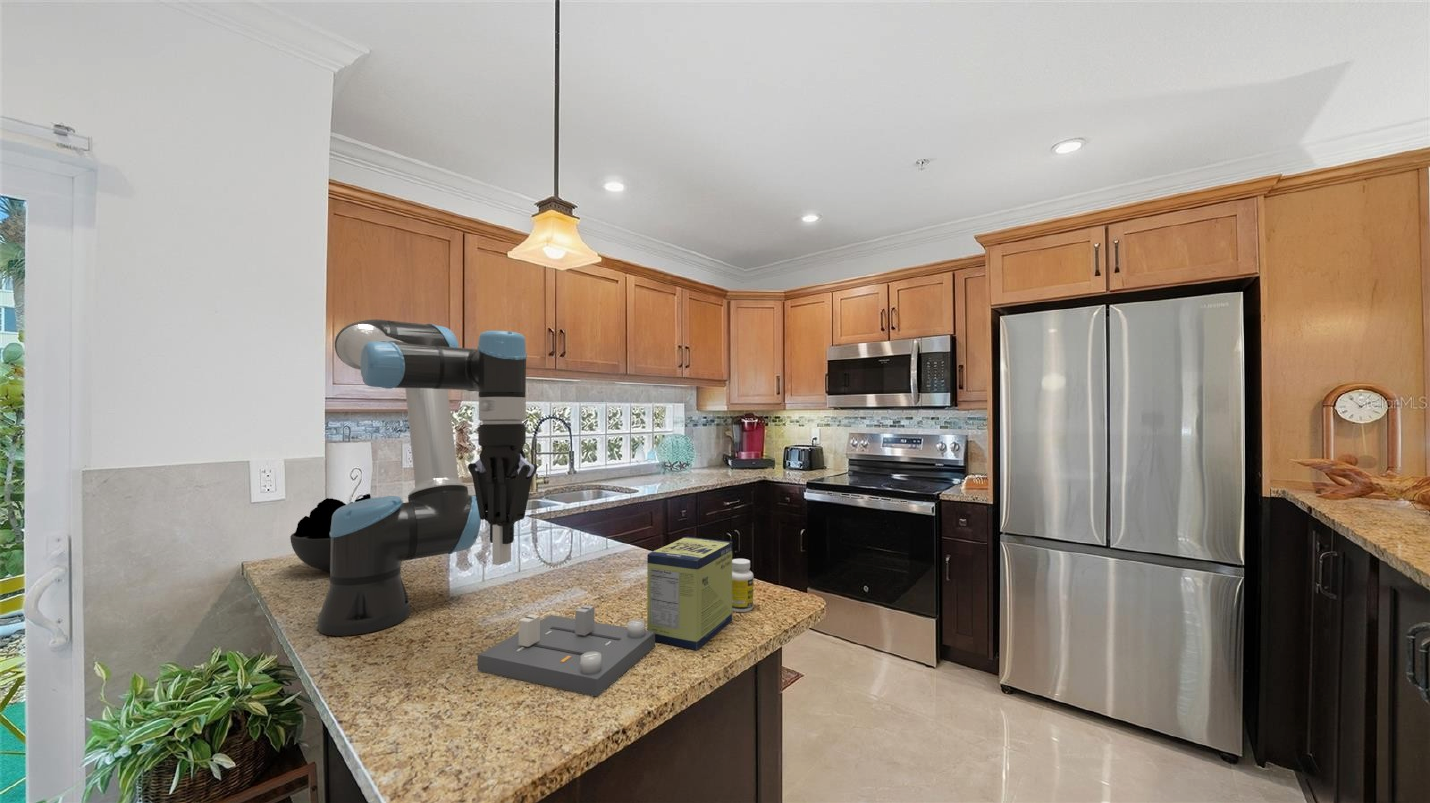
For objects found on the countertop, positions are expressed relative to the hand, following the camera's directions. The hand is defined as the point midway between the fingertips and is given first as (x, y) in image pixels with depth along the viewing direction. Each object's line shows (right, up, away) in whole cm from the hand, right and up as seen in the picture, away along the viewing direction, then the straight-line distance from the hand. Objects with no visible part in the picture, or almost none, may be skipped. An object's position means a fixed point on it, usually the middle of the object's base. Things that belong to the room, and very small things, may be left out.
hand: (501, 562), depth 92 cm
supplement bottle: (+41, -16, +21) cm, 49 cm away
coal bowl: (-62, -17, +49) cm, 81 cm away
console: (+12, -15, -2) cm, 20 cm away
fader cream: (+5, -13, -2) cm, 14 cm away
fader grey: (+13, -13, +2) cm, 19 cm away
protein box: (+32, -16, +10) cm, 37 cm away
